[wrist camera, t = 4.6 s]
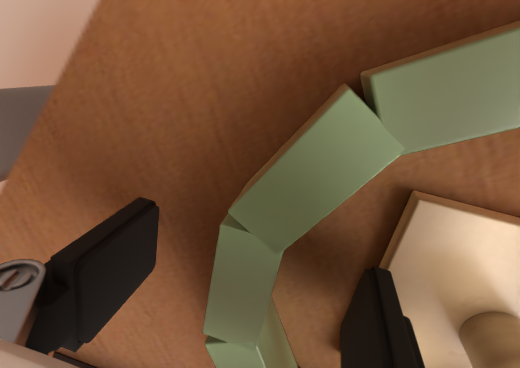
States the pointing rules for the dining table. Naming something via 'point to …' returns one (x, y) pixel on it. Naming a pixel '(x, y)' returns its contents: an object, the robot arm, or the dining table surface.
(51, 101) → the dining table surface
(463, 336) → the peg
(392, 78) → the green ring
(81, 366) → the tray
